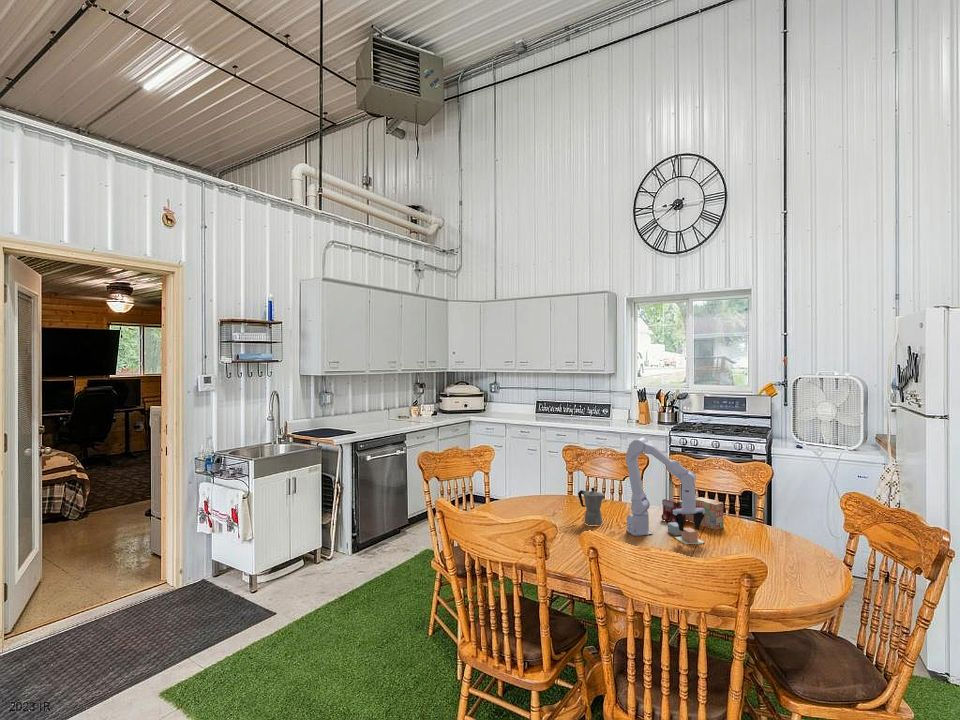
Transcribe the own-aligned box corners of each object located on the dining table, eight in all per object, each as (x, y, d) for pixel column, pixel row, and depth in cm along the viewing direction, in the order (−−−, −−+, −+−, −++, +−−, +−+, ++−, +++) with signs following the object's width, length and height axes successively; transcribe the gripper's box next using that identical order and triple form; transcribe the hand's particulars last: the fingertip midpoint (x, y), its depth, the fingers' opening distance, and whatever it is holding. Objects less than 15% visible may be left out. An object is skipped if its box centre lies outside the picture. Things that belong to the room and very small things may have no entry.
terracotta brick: (689, 542, 221) (689, 532, 221) (681, 537, 227) (681, 528, 227) (697, 541, 221) (697, 531, 222) (689, 537, 227) (689, 527, 227)
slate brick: (675, 536, 231) (675, 526, 231) (667, 532, 237) (667, 522, 237) (683, 535, 232) (682, 526, 232) (675, 531, 238) (675, 522, 238)
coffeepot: (610, 524, 249) (609, 488, 249) (599, 529, 242) (599, 491, 243) (584, 518, 260) (583, 483, 260) (573, 522, 254) (572, 486, 254)
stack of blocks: (677, 518, 257) (677, 494, 258) (685, 516, 261) (685, 493, 261) (716, 530, 239) (715, 504, 239) (724, 527, 242) (723, 502, 242)
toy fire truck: (680, 526, 245) (680, 505, 245) (658, 520, 256) (658, 499, 256) (688, 523, 249) (688, 502, 249) (667, 517, 259) (666, 497, 260)
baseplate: (686, 545, 219) (685, 543, 219) (674, 538, 228) (674, 537, 228) (704, 543, 221) (704, 542, 221) (692, 537, 230) (692, 535, 230)
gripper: (678, 502, 219) (679, 534, 219) (708, 500, 222) (709, 531, 222) (669, 498, 226) (670, 528, 226) (699, 496, 229) (699, 526, 229)
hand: (689, 530), depth 224 cm, fingers open, 7 cm apart
